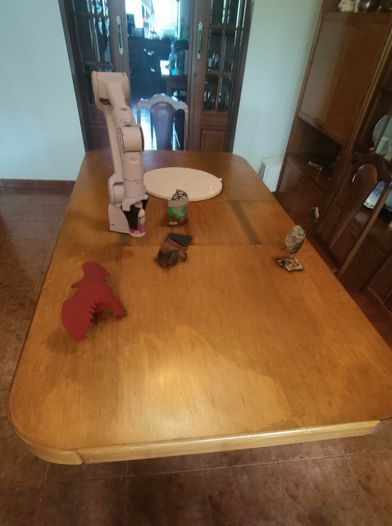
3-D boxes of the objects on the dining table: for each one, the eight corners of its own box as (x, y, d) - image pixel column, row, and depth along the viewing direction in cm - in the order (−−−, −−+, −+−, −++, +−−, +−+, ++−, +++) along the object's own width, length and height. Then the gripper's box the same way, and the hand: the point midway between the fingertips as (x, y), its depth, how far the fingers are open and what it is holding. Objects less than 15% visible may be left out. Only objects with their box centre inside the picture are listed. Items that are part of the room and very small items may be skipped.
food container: (183, 230, 120) (184, 203, 113) (168, 227, 120) (168, 200, 113) (190, 216, 128) (192, 190, 121) (176, 214, 129) (176, 188, 122)
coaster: (163, 243, 112) (163, 243, 112) (169, 233, 117) (169, 232, 117) (185, 247, 111) (185, 246, 111) (190, 237, 117) (190, 236, 116)
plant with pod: (294, 254, 113) (313, 196, 98) (305, 272, 105) (327, 212, 90) (272, 254, 112) (288, 196, 97) (281, 272, 104) (300, 212, 90)
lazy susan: (237, 184, 156) (238, 176, 154) (194, 209, 133) (195, 201, 130) (171, 164, 169) (171, 157, 167) (122, 185, 146) (121, 177, 143)
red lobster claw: (119, 294, 98) (78, 260, 89) (140, 279, 93) (99, 242, 85) (96, 364, 78) (42, 329, 70) (121, 349, 74) (66, 310, 65)
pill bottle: (125, 235, 100) (122, 203, 93) (134, 227, 103) (131, 197, 96) (141, 239, 99) (138, 207, 91) (148, 231, 102) (147, 201, 95)
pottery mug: (152, 256, 107) (162, 233, 104) (177, 267, 111) (188, 245, 108) (157, 267, 97) (168, 242, 94) (184, 278, 101) (195, 255, 98)
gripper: (137, 189, 83) (140, 237, 93) (155, 171, 93) (156, 216, 103) (112, 185, 84) (118, 233, 94) (132, 167, 94) (135, 213, 104)
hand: (136, 224), depth 99 cm, fingers closed on pill bottle, 5 cm apart
